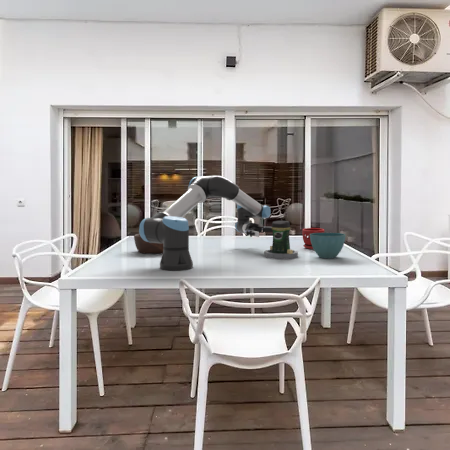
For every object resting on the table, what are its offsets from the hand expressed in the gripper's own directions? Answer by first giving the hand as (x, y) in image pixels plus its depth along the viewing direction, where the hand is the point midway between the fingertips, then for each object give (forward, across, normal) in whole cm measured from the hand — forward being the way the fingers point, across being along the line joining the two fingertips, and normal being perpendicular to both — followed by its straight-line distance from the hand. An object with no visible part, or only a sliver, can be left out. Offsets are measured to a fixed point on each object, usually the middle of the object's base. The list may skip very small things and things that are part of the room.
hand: (269, 232), depth 222 cm
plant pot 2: (+23, -21, -13) cm, 34 cm away
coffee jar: (+10, -1, -11) cm, 15 cm away
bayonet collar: (+10, -1, -12) cm, 15 cm away
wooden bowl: (-39, +55, -8) cm, 68 cm away
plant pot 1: (-7, -34, -15) cm, 38 cm away
